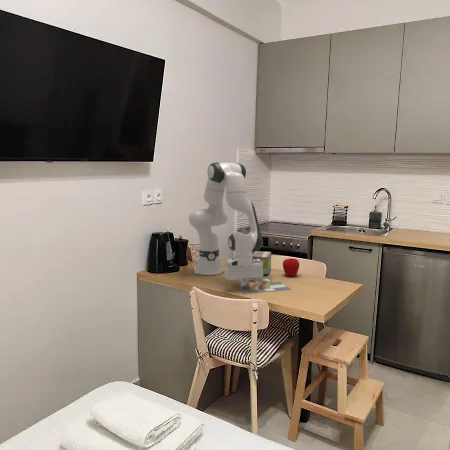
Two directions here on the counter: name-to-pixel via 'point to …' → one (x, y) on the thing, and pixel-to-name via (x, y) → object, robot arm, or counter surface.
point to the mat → (273, 287)
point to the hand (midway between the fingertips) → (244, 286)
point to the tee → (257, 284)
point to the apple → (291, 267)
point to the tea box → (266, 263)
